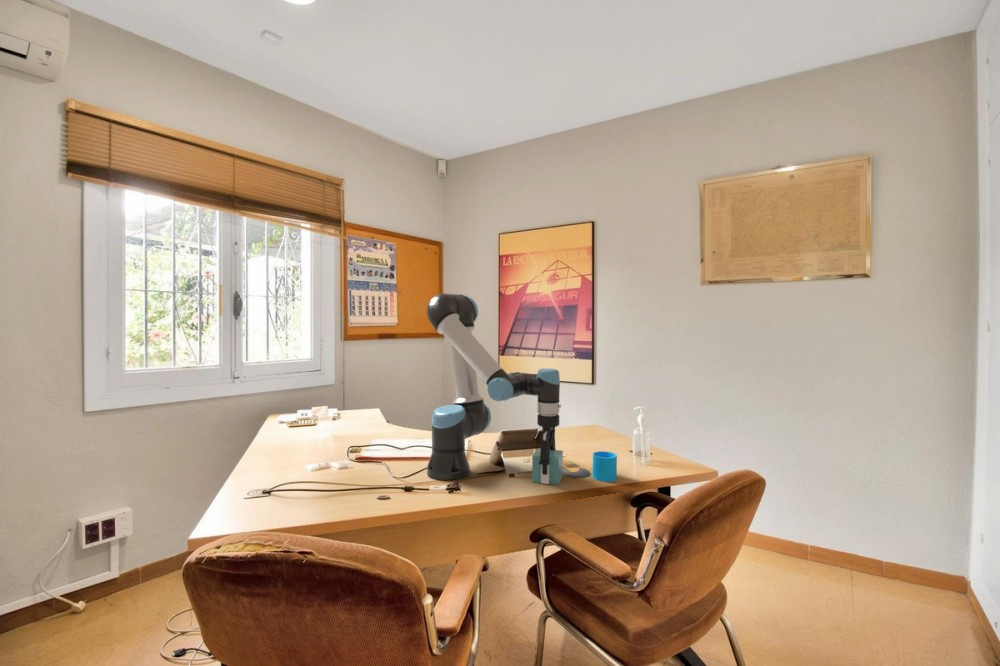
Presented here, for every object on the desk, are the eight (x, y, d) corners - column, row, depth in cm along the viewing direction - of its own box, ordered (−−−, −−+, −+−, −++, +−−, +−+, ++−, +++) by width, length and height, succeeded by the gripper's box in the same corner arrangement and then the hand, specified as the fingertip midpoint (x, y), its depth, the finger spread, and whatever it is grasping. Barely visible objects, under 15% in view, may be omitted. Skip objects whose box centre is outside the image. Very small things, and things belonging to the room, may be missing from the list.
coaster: (559, 476, 164) (559, 474, 164) (563, 467, 174) (563, 466, 173) (588, 479, 161) (588, 477, 161) (590, 469, 171) (590, 468, 171)
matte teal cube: (532, 481, 158) (532, 455, 158) (537, 473, 167) (537, 448, 166) (558, 484, 155) (558, 458, 155) (562, 475, 164) (562, 450, 164)
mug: (619, 481, 159) (619, 458, 158) (595, 482, 158) (596, 458, 158) (609, 470, 171) (610, 448, 170) (587, 470, 170) (588, 448, 170)
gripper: (553, 421, 148) (553, 490, 149) (563, 408, 170) (563, 469, 171) (530, 420, 151) (530, 488, 151) (543, 407, 172) (543, 467, 173)
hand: (547, 478), depth 161 cm, fingers open, 10 cm apart
